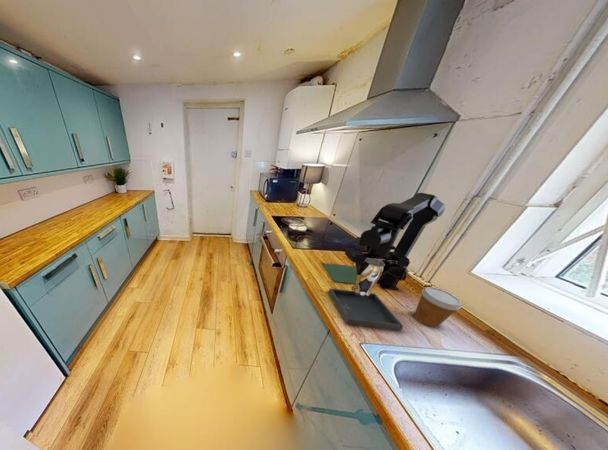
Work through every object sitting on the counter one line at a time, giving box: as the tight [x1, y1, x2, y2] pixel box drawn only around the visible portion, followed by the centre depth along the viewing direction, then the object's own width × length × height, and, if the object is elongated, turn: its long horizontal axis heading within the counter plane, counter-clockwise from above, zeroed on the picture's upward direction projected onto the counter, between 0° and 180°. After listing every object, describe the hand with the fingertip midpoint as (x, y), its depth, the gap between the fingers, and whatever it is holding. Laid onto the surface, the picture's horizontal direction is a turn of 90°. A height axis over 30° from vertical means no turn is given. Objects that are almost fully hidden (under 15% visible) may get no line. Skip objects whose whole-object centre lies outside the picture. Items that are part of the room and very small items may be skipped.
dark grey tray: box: [327, 288, 404, 332], centre depth 76 cm, size 18×16×2 cm
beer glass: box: [351, 259, 385, 298], centre depth 76 cm, size 7×7×15 cm
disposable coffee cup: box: [413, 286, 463, 328], centre depth 71 cm, size 10×10×12 cm
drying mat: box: [322, 263, 357, 285], centre depth 97 cm, size 16×14×1 cm
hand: (367, 275), depth 76 cm, fingers closed on beer glass, 7 cm apart
